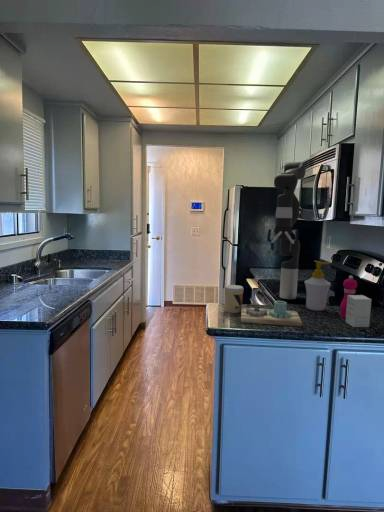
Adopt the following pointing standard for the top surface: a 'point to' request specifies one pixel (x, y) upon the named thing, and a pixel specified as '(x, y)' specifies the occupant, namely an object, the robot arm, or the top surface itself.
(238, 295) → the coffee cup
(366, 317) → the supplement box
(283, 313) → the planet gear
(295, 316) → the carrier
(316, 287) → the soap bottle
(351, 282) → the pepper mill
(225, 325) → the top surface
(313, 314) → the top surface
